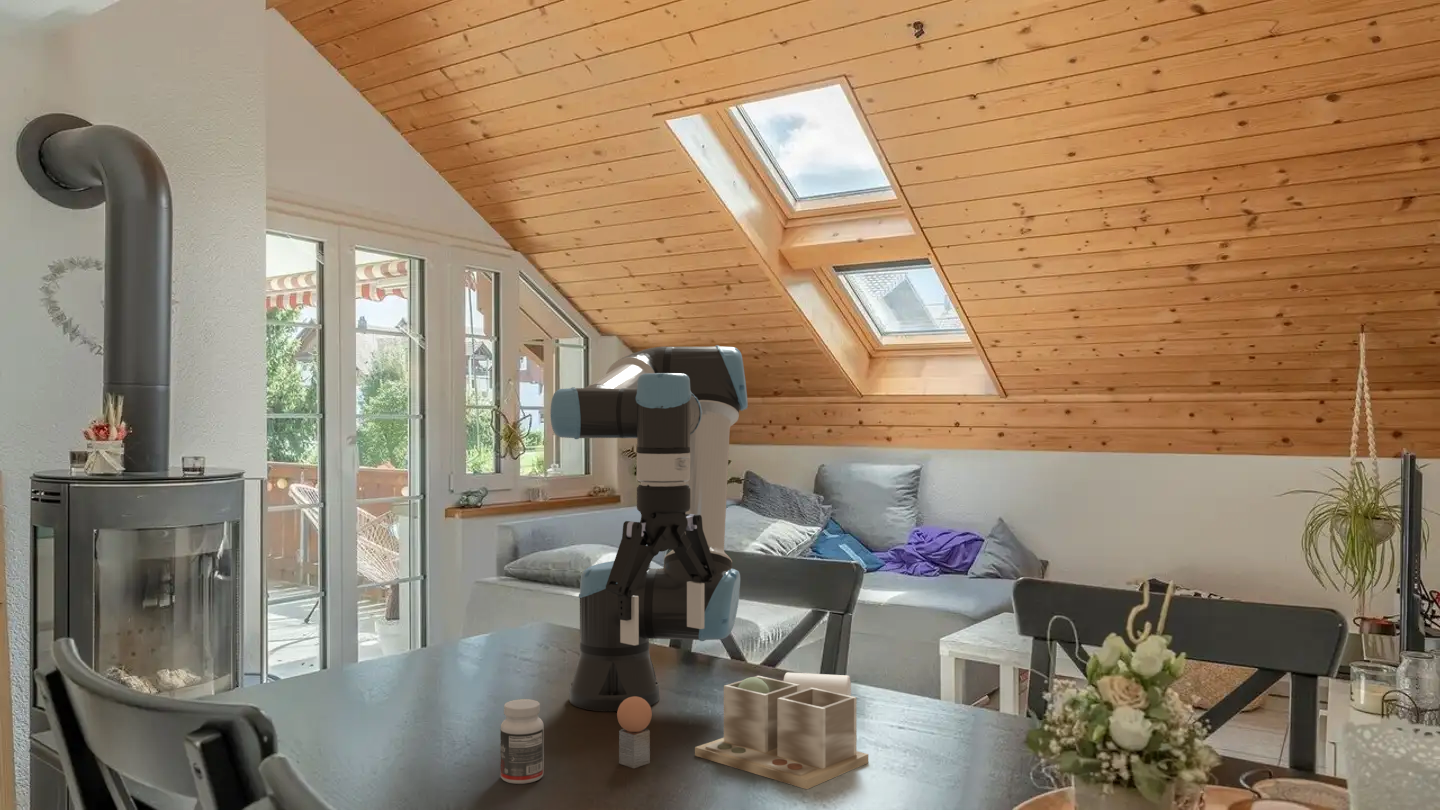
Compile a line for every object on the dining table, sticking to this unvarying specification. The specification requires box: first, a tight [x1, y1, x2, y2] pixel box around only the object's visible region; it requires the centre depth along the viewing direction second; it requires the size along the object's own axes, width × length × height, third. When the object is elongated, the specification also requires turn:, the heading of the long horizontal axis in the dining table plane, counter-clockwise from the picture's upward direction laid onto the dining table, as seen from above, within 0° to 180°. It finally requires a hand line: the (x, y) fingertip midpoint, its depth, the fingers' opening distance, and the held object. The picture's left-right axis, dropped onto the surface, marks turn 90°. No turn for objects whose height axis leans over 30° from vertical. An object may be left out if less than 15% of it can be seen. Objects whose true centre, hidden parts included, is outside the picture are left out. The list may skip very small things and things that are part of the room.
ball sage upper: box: [738, 676, 769, 694], centre depth 158 cm, size 5×5×5 cm
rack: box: [694, 675, 869, 790], centre depth 153 cm, size 20×14×9 cm
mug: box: [782, 672, 852, 696], centre depth 171 cm, size 12×10×8 cm
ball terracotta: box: [616, 696, 653, 732], centre depth 152 cm, size 5×5×5 cm
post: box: [618, 728, 651, 769], centre depth 152 cm, size 3×3×5 cm
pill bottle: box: [499, 698, 545, 785], centre depth 146 cm, size 6×6×10 cm
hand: (663, 635), depth 153 cm, fingers open, 13 cm apart
